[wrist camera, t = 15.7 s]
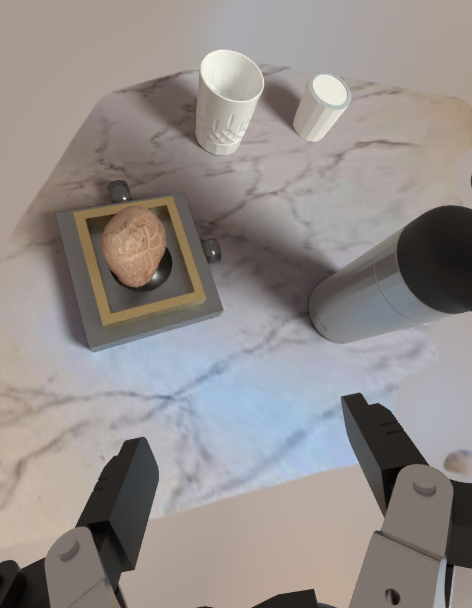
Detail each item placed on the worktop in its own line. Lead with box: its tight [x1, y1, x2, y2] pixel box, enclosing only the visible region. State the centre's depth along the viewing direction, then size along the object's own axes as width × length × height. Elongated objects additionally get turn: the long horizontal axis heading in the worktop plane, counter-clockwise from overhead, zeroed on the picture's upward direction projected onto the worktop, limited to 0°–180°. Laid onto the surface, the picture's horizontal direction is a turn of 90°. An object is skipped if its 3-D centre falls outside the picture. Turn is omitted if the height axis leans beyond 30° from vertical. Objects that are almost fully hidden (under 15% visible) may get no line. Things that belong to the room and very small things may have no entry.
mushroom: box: [101, 205, 167, 288], centre depth 33 cm, size 8×6×8 cm
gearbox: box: [55, 180, 224, 352], centre depth 38 cm, size 17×19×5 cm
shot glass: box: [293, 71, 351, 142], centre depth 50 cm, size 7×7×7 cm
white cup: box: [195, 50, 264, 156], centre depth 43 cm, size 8×8×10 cm
